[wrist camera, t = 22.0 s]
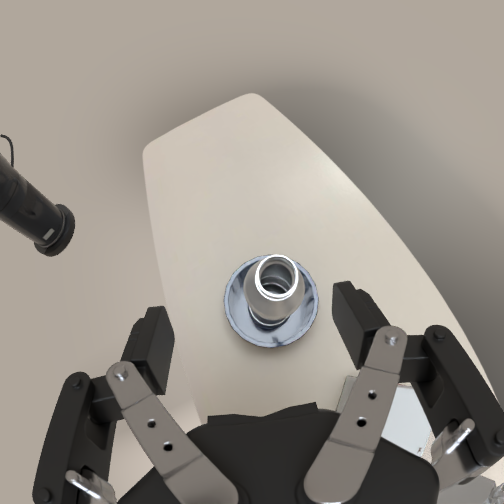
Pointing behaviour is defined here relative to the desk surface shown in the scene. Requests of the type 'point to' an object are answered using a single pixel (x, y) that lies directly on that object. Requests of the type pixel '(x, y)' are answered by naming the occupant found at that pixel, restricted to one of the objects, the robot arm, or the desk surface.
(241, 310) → the bowl
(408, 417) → the white product box
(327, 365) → the desk surface
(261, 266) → the silver bottle
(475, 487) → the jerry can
